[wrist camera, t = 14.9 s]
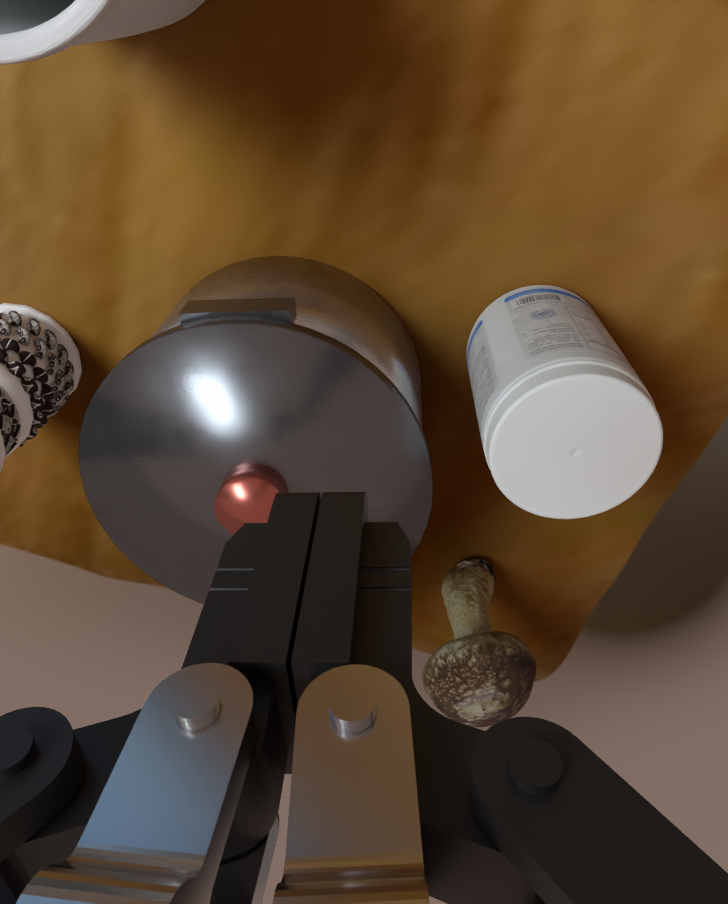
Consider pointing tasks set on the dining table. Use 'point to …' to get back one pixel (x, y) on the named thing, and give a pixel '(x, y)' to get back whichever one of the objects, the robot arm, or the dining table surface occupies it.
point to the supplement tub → (559, 405)
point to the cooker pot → (309, 311)
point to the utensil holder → (79, 23)
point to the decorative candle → (32, 373)
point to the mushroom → (477, 655)
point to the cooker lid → (242, 441)
